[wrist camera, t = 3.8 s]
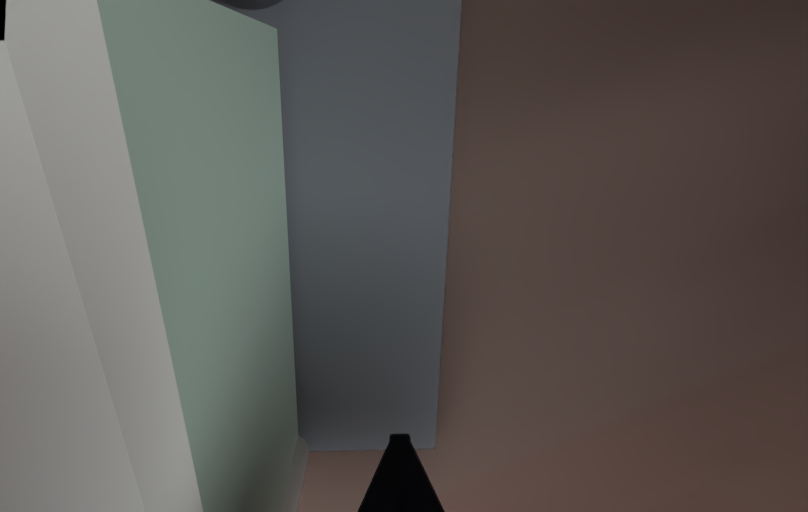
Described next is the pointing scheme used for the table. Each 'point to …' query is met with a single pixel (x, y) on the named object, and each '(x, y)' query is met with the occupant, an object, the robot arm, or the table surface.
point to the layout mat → (367, 210)
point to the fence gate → (144, 261)
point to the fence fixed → (251, 3)
